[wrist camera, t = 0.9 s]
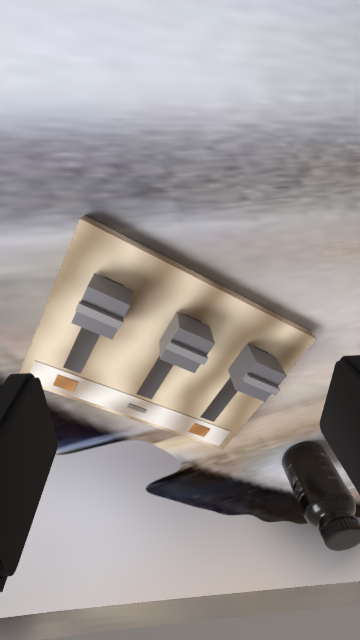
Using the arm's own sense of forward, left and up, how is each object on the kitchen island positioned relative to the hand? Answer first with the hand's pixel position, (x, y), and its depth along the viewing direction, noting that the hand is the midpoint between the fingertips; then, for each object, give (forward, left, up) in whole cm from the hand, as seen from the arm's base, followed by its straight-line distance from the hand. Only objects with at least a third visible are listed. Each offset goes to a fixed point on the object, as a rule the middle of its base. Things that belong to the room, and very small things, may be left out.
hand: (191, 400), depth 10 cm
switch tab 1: (+3, +8, -21) cm, 23 cm away
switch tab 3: (-15, +8, -21) cm, 27 cm away
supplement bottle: (-34, +20, -24) cm, 46 cm away
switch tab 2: (-6, +8, -21) cm, 23 cm away
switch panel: (-6, +12, -24) cm, 27 cm away
